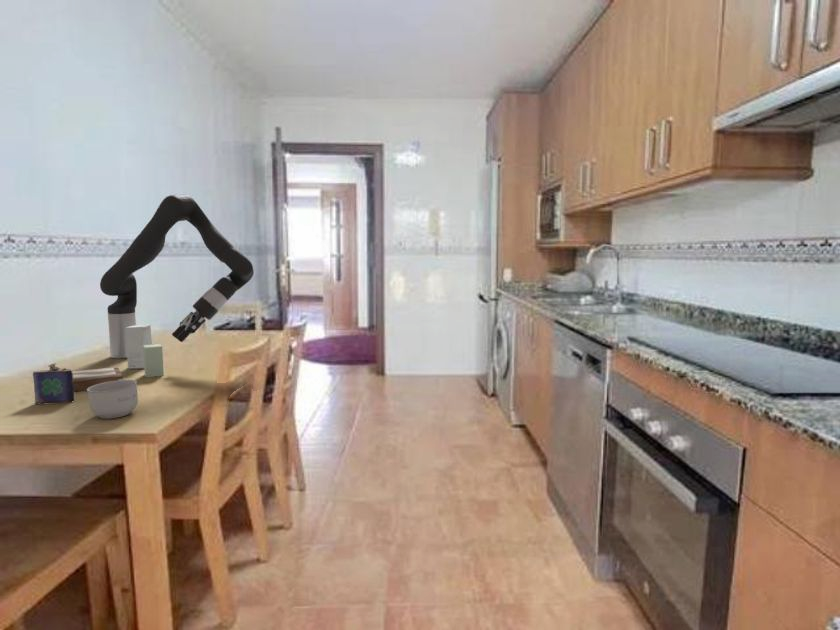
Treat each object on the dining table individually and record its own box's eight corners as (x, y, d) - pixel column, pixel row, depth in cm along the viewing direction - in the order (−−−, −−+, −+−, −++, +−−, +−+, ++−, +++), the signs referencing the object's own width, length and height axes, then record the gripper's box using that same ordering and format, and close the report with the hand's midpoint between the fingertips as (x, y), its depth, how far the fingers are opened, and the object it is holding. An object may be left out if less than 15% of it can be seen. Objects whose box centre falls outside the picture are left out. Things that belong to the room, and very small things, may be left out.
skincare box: (144, 368, 181) (142, 327, 179) (126, 369, 180) (124, 327, 178) (153, 363, 189) (151, 323, 187) (136, 364, 188) (134, 324, 187)
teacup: (126, 421, 125) (124, 389, 124) (79, 422, 124) (77, 390, 123) (151, 404, 139) (149, 376, 138) (109, 405, 138) (107, 376, 137)
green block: (144, 374, 173) (143, 345, 171) (161, 372, 175) (159, 343, 174) (146, 377, 168) (145, 347, 167) (163, 375, 171) (162, 346, 170)
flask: (33, 404, 138) (30, 365, 137) (39, 401, 141) (36, 363, 139) (71, 403, 140) (69, 364, 139) (76, 400, 143) (74, 362, 141)
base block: (67, 382, 161) (66, 371, 161) (118, 376, 169) (117, 365, 169) (68, 392, 150) (67, 380, 150) (123, 385, 158) (122, 374, 158)
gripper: (197, 294, 184) (163, 328, 179) (207, 297, 172) (171, 334, 167) (213, 308, 188) (180, 342, 182) (224, 312, 176) (189, 348, 171)
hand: (176, 338), depth 175 cm, fingers open, 8 cm apart
